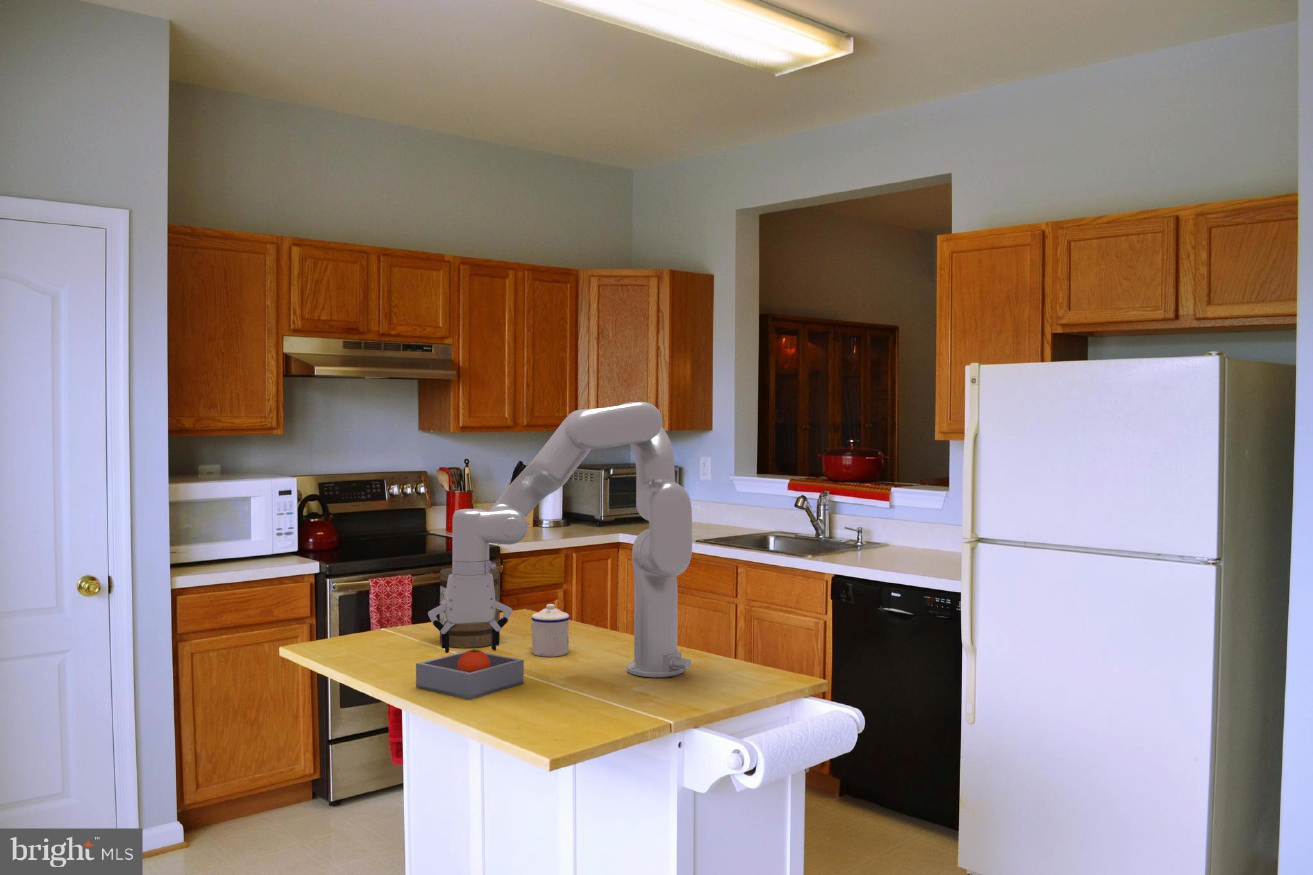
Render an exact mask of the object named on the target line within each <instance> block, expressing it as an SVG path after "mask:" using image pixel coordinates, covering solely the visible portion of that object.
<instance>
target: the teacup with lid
mask: <svg viewBox="0 0 1313 875" xmlns="http://www.w3.org/2000/svg"><path fill="white" fill-rule="evenodd" d="M545 606H546V607H545V608H542V610H540V611H538V612H536V613H533V614H532V616H531V620H532V622H531V626H530V627H531V629H530V630H531V636H532V637H531V653H532V654H533V655H534V656H536V657H544V658H552V657H553V658H554V657H555V658H556V657H561V656H565V655H567V654H568V653H569V630H570V629H569V624H570V623H569V621H570V615H569V614H568V613H567V612H564V611H561V610H560V609H559V608H556V605H555V604H552V603H548V604H546V605H545Z"/></svg>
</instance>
